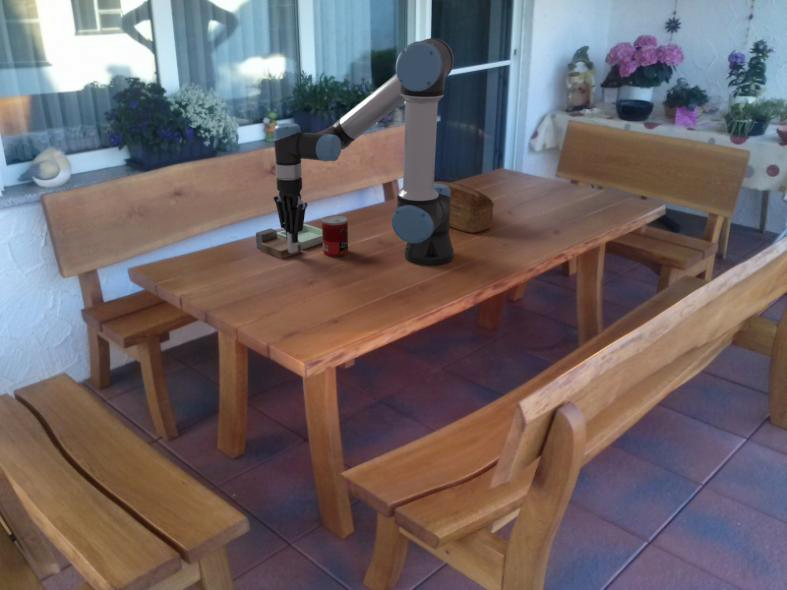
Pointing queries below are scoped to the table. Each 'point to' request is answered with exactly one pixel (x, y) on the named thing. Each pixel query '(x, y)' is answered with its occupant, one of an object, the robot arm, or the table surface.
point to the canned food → (335, 236)
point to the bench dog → (265, 236)
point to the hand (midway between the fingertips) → (292, 251)
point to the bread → (469, 208)
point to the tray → (306, 236)
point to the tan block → (278, 248)
